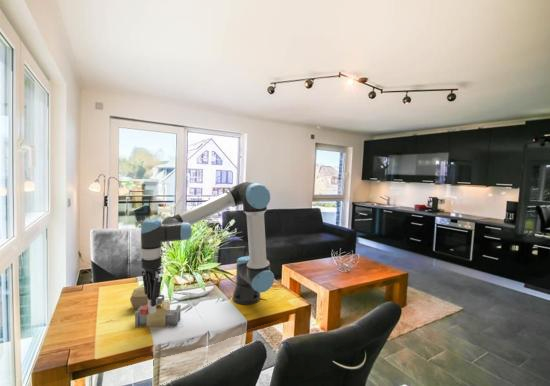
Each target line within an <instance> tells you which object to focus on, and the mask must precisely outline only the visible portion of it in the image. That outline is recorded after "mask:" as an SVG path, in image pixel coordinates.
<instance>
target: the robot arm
mask: <svg viewBox="0 0 550 386" xmlns="http://www.w3.org/2000/svg"><path fill="white" fill-rule="evenodd" d="M270 201H271V193H270V190H269V189H268V188H267V186H266V185H264V184H261V183H259V182H249V181H248V182H247V181H245V182H241V183H238V184H237V185H234V186H232V187H230V188H228V189H226V190H225V191H224V193H222V194H220V195H218V196H215V197H213V198H211V199H209V200H207V201H204V202H202V203H200V204H198V205H195V206H194V207H191V208H189V209H186V210H184V211H182V212H180V213H178V214H176V215H173V216H166V217H165V218H163V220H161V219H158V218H151V219H150V218H148V219H145V220H142V222H141V224H140V246H141V247H140V252H141V254H140V257H141V259H140V260H141V261H140V262H141V263H140V264H141V265H140V266H141V268H142V269H144V270H142V271H141V275H142V281H143V287H144V291H145V295H146V294H147V297H148V314H152V313H155V312H156V298H158V297H159V295H161V294H160V293H161V288H162V287H161V285H162V281H163V276H160V271H159V268H160V267H161V266H162V257H161V256H162V243H165V242H166V243H168V242H178V241H185V240H190V239H191V238H192V232H193V231H192V230H193V229H192V226H193V225H194V224H197V223H199V222H201V221H203V220H206V219H207V218H210V217H212V216H214V215H216V214H218V213H220V212H222V211H224V210H226V209H228V208H231V207H232V208H235V207H238V206H241V205H242V211H243V212H242V213H245V215H246V227H247V228H246V229H247V240H248V241H247V243H248V255H247V256H246V255H245V256H241V257H239V258H237V259H236V280H235V281H236V283H235V287H234V290H233V292H232V300H233V301H234V302H235V303H237V304H241V305H253V304H255V303H257V302H260V299H261V293H265V292H268V290H270V289H271V287H273V285H274V282H275V275H274V272H272V270H271V264H270V261H269V260H268V259H267V246H266V244H267V243H266V229H265V228H266V227H265V213H266V212H267V210H268V208H267V207H268V206H269V203H270Z"/></svg>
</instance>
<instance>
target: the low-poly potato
mask: <svg viewBox="0 0 550 386" xmlns="http://www.w3.org/2000/svg"><path fill="white" fill-rule="evenodd" d="M129 301H130V303H131V306H132V308H135V309H137V310H138V309H139V307H140V306H144V305H147V304H148V297H147V294H146V295H145V291H144V286H140V287H137V288H134V289H133V291H132V294H131V296H130V299H129Z"/></svg>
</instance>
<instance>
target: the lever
mask: <svg viewBox="0 0 550 386" xmlns="http://www.w3.org/2000/svg"><path fill="white" fill-rule="evenodd" d="M163 302H165V295H164V294H160V295H159V297H158V298H156V306H157V305H158V304H160V303H163ZM147 314H148V304H147V305H144V306H143V307H142V308H141V309H140V315H145V316H146V315H147Z"/></svg>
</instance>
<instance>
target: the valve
mask: <svg viewBox="0 0 550 386" xmlns="http://www.w3.org/2000/svg"><path fill="white" fill-rule="evenodd" d="M170 305H171V302H170V301H164V302H163V303H160V304H158V305H157V306H156V312H155V313H152V314H147V315H146V316H145V315H140V309H141V308H142V307H143V306H140V307H139V309H137V310H136V311H135V312H134V327H135V328H138V327H142V326H146V327H147V328H155V327H156V328H158V327H159V326H165V327H166V326H172V325H171V324H174V325H177V326H178V325H179V323H180V321H179V320H181V318H182V317H181V315H182V313H181V312H182V311H181V310H182V309H181V308H182V307H181V304H179V305H178V304H177V307H175V309H170V308H171V306H170ZM178 322H179V323H178ZM174 325H173V326H174ZM157 326H158V327H157Z"/></svg>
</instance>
